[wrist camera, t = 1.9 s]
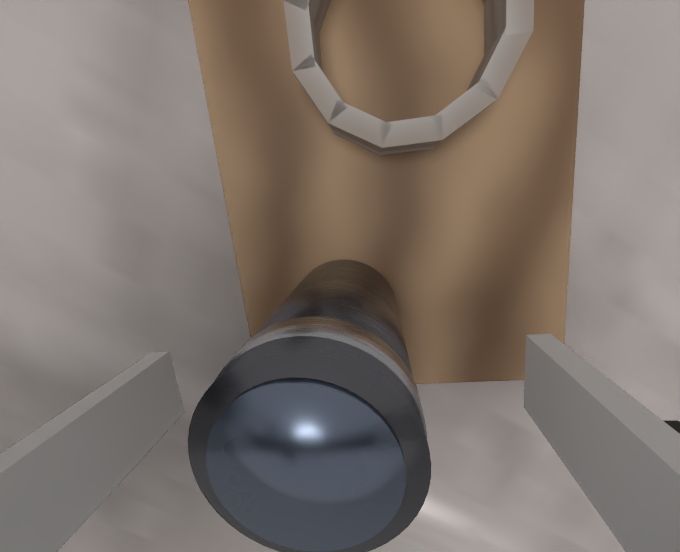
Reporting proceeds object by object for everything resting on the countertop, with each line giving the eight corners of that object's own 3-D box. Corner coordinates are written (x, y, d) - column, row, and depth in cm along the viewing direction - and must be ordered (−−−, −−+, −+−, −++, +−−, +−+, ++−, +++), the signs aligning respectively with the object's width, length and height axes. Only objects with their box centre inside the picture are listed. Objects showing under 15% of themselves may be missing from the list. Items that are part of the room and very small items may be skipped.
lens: (300, 359, 19) (208, 566, 8) (286, 263, 18) (153, 363, 7) (401, 354, 19) (440, 575, 8) (394, 253, 17) (429, 349, 6)
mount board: (268, 376, 22) (242, 418, 17) (194, -40, 16) (131, -123, 12) (547, 365, 19) (595, 410, 15) (571, -124, 14) (655, -262, 10)
